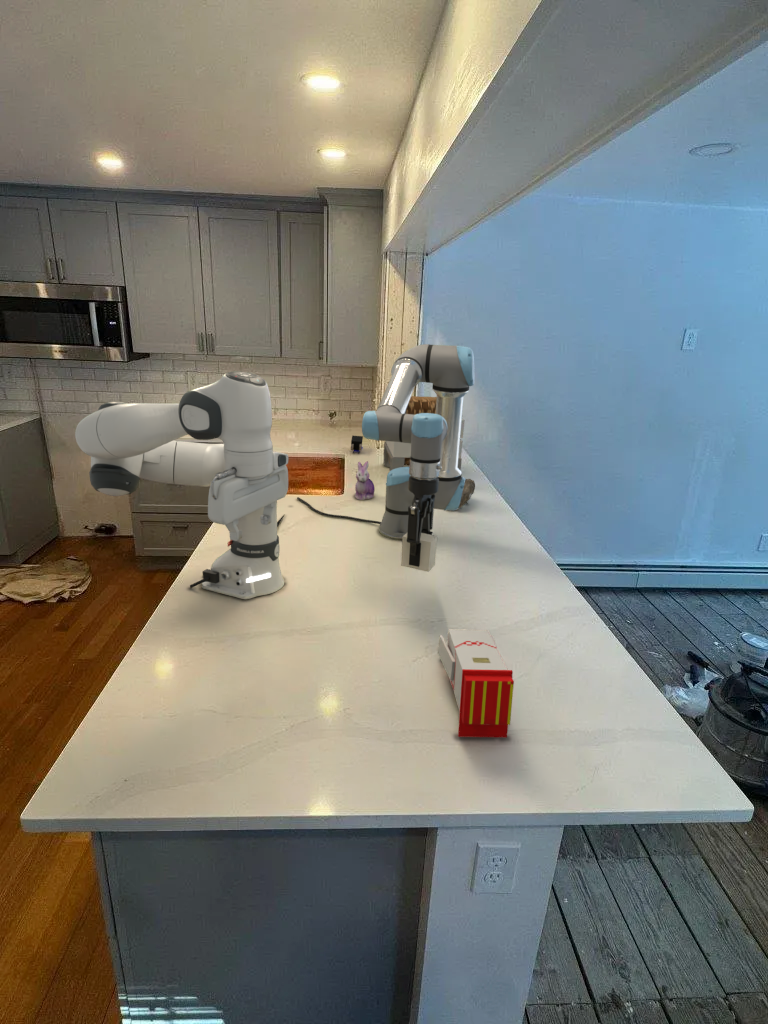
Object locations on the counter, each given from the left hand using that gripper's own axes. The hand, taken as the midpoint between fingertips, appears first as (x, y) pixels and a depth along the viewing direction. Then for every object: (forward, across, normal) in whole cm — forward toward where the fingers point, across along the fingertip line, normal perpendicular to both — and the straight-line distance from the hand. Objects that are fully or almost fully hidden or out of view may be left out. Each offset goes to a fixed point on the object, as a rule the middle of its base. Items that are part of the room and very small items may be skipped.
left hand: (251, 531), depth 110 cm
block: (+22, +46, -18) cm, 54 cm away
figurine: (+33, +119, +34) cm, 128 cm away
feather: (+33, +81, +49) cm, 100 cm away
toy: (+33, +16, -42) cm, 56 cm away
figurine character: (+33, +188, +73) cm, 204 cm away
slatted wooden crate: (+33, +166, +28) cm, 172 cm away
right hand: (+21, +46, -18) cm, 53 cm away
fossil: (+33, +132, -2) cm, 136 cm away
